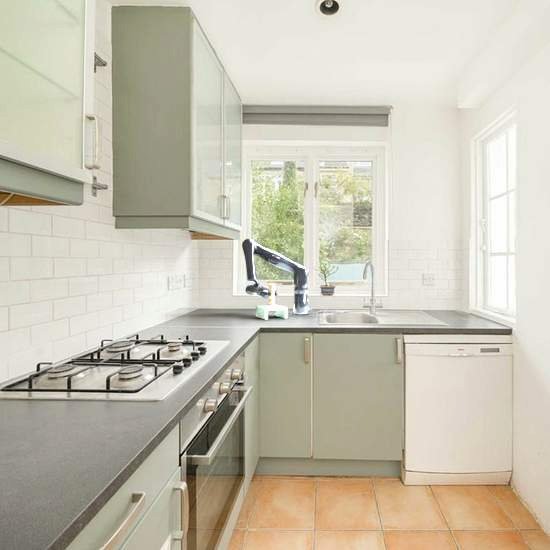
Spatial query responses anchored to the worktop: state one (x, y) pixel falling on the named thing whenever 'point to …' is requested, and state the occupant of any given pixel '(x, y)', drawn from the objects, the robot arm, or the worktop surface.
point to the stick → (272, 295)
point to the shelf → (263, 310)
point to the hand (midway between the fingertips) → (273, 294)
